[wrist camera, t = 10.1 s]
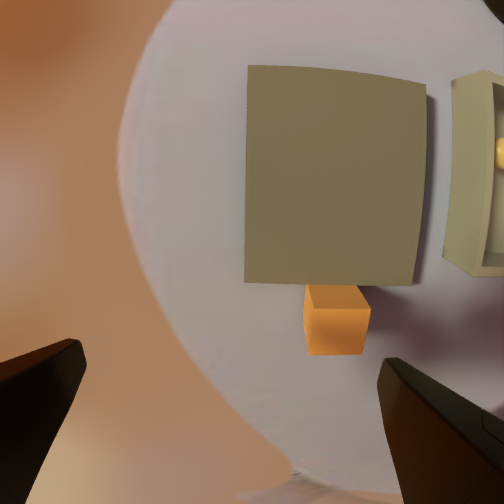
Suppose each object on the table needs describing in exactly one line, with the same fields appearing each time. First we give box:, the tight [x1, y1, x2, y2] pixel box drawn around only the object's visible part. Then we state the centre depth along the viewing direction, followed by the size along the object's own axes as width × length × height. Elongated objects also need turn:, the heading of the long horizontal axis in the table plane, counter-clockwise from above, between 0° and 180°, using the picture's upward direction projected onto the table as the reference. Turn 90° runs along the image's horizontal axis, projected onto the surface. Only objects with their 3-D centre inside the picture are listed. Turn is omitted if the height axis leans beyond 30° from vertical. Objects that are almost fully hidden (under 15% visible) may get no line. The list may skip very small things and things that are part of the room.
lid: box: [244, 65, 427, 355], centre depth 17 cm, size 15×10×5 cm
